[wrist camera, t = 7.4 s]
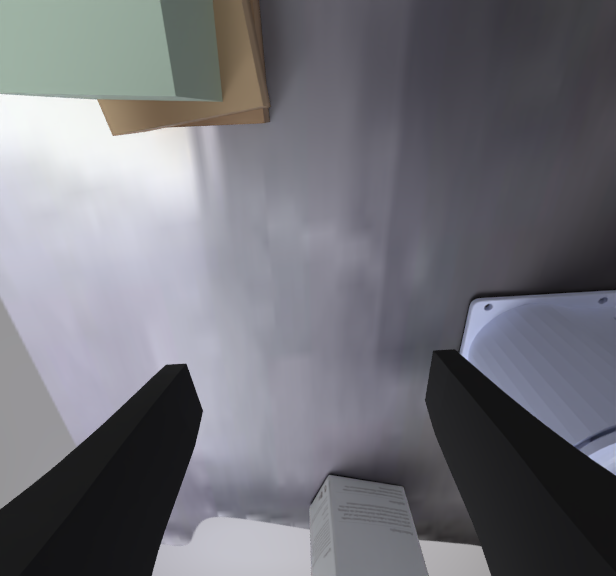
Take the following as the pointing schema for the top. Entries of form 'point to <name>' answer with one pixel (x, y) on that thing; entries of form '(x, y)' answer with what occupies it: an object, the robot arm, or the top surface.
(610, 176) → the top surface
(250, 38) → the tower top
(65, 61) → the block
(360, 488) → the skincare box
